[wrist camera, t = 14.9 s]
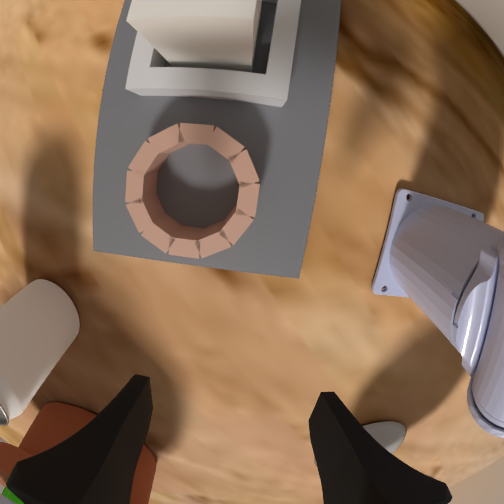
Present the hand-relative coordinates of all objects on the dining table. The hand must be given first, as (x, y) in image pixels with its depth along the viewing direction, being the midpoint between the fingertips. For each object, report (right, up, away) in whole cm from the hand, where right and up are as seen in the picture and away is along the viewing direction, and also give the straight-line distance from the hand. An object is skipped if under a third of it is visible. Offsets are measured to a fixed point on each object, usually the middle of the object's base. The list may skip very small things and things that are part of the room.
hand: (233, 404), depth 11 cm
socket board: (-2, +15, +6) cm, 16 cm away
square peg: (-1, +19, +3) cm, 19 cm away
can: (-17, +1, +11) cm, 20 cm away
